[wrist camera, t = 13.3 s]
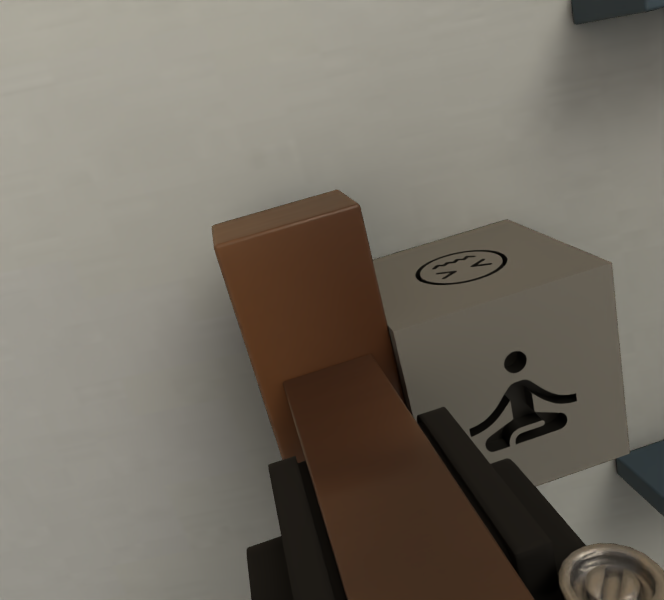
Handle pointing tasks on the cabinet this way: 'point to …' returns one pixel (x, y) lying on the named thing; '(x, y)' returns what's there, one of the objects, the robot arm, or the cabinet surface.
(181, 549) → the cabinet surface
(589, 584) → the robot arm
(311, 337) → the brown l-shaped block
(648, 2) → the blue-grey u-shaped frame
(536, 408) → the dice cube
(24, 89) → the cabinet surface
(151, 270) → the cabinet surface
